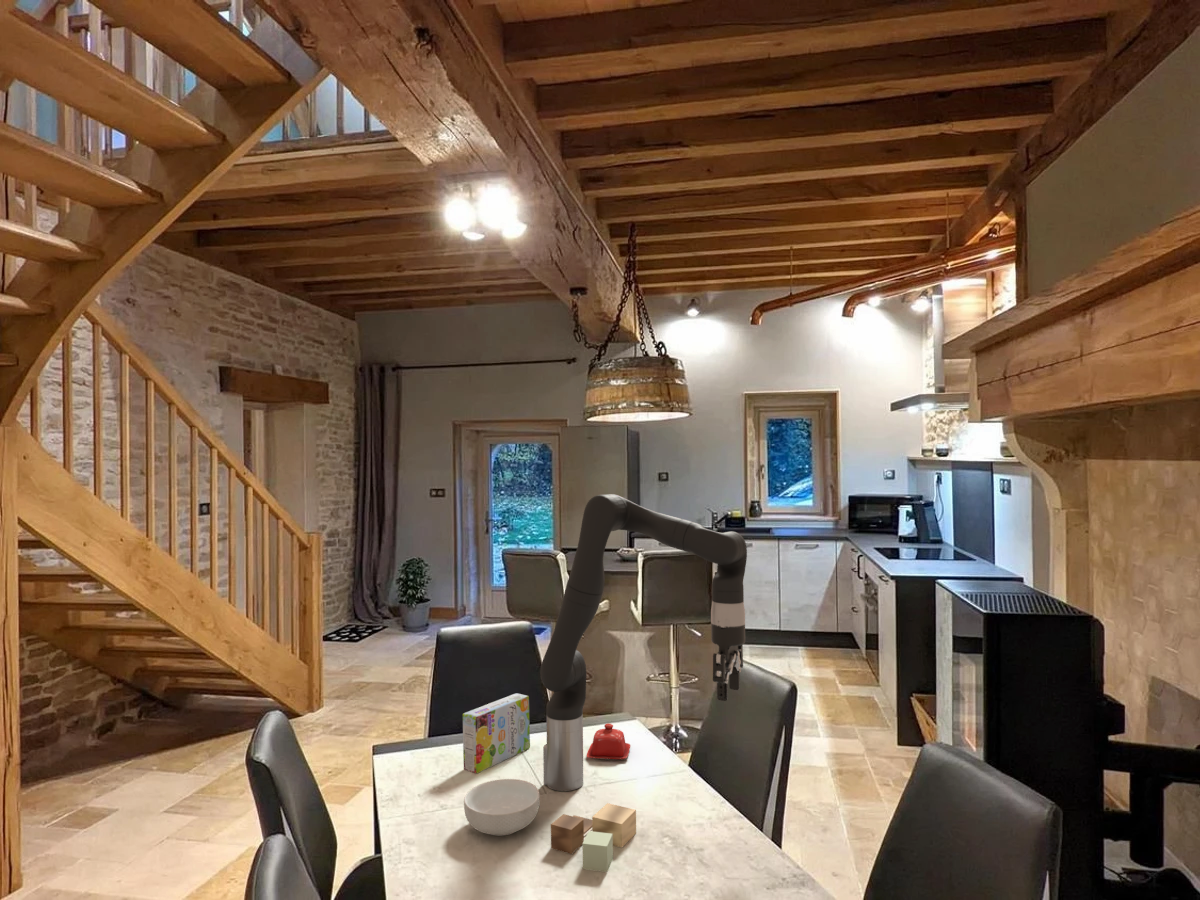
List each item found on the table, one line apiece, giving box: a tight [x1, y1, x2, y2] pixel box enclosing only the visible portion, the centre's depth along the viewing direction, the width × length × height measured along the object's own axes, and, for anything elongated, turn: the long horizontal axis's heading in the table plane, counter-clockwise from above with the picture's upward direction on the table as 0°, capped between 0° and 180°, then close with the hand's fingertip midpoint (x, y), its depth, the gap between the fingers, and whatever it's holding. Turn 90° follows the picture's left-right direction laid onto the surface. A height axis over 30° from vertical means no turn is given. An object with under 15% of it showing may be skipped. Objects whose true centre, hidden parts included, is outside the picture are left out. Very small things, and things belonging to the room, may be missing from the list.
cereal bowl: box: [463, 778, 540, 837], centre depth 154 cm, size 17×17×7 cm
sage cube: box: [581, 830, 614, 873], centre depth 139 cm, size 5×5×5 cm
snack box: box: [462, 692, 531, 774], centre depth 192 cm, size 21×6×15 cm, turn 144°
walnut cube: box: [550, 813, 585, 855], centre depth 146 cm, size 5×5×5 cm
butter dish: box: [586, 722, 631, 761], centre depth 194 cm, size 12×12×8 cm
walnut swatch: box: [572, 814, 592, 838], centre depth 154 cm, size 7×7×1 cm
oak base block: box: [591, 802, 637, 849], centre depth 149 cm, size 7×7×5 cm
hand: (728, 694), depth 155 cm, fingers open, 8 cm apart
